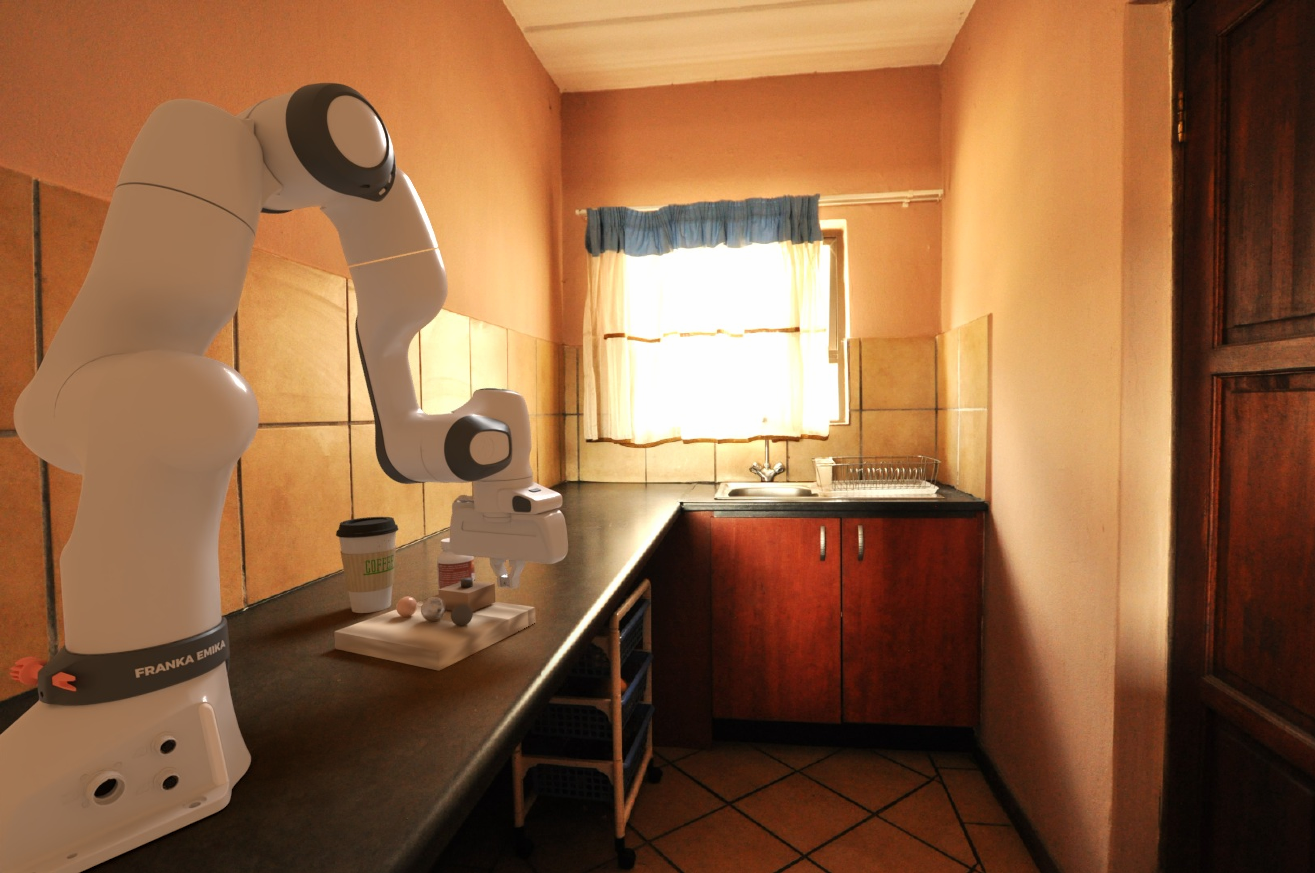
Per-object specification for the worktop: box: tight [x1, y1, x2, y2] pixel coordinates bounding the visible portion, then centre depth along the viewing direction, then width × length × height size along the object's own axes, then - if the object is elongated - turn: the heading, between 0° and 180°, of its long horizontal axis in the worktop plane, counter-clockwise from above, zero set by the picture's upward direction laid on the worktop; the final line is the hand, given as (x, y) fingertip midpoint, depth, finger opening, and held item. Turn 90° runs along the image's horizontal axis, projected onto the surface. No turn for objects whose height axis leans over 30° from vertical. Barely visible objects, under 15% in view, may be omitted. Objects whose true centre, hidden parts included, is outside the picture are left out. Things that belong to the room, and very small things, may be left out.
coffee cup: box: [335, 516, 399, 614], centre depth 113 cm, size 10×10×15 cm
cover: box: [437, 577, 497, 612], centre depth 103 cm, size 6×6×4 cm
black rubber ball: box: [451, 604, 473, 626], centre depth 94 cm, size 3×3×3 cm
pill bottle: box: [436, 537, 476, 591], centre depth 115 cm, size 6×6×11 cm
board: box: [334, 593, 537, 671], centre depth 98 cm, size 20×20×2 cm
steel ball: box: [421, 596, 446, 621], centre depth 97 cm, size 4×4×4 cm
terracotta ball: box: [395, 596, 418, 617], centre depth 99 cm, size 3×3×3 cm
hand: (508, 587), depth 100 cm, fingers closed
